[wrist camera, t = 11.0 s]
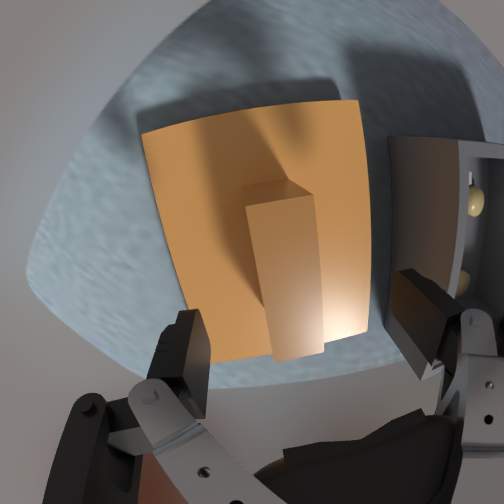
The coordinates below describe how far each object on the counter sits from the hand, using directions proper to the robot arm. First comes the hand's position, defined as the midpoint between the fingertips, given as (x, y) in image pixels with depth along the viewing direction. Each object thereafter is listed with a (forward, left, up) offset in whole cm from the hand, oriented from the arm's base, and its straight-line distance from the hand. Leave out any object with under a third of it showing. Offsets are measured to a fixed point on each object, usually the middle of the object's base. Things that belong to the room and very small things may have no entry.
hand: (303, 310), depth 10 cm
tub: (-15, +2, -8) cm, 17 cm away
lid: (0, 0, -8) cm, 8 cm away
